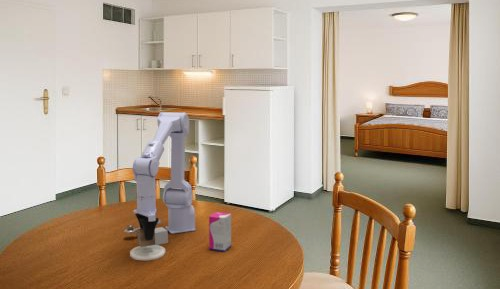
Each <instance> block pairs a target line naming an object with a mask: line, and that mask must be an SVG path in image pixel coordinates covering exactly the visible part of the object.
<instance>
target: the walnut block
mask: <svg viewBox="0 0 500 289" xmlns="http://www.w3.org/2000/svg"><path fill="white" fill-rule="evenodd" d="M136 233H137V234H138V238H137V244H138V245H139V246H141V247H144V246H151V245H155V231H154V236H153V240H146V239H145V235H144V229H143V228H140V229H137V232H136Z"/></svg>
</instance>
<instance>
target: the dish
mask: <svg viewBox="0 0 500 289" xmlns="http://www.w3.org/2000/svg"><path fill="white" fill-rule="evenodd" d="M165 255H166V248H165V247H163V246H161V245H151V246H144V247H141V246H140V245H139V246H138V245H137V246H136V247H133V248H132V249H131V250H130V251H129V256H130V258H131V259H133V260H136V261H140V262H141V261H144V262H145V261H153V260H157V259H160V258H162V257H164V256H165Z"/></svg>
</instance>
